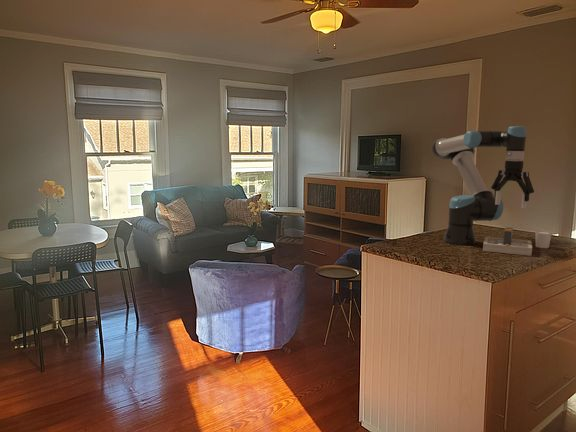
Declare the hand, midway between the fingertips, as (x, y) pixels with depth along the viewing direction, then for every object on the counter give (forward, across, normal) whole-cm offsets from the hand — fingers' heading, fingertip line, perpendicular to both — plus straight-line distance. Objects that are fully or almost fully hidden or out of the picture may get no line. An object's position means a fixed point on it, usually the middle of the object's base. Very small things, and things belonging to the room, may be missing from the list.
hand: (510, 206), depth 209 cm
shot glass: (+21, +5, +20) cm, 29 cm away
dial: (+18, 0, 0) cm, 18 cm away
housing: (+20, 0, 0) cm, 21 cm away
